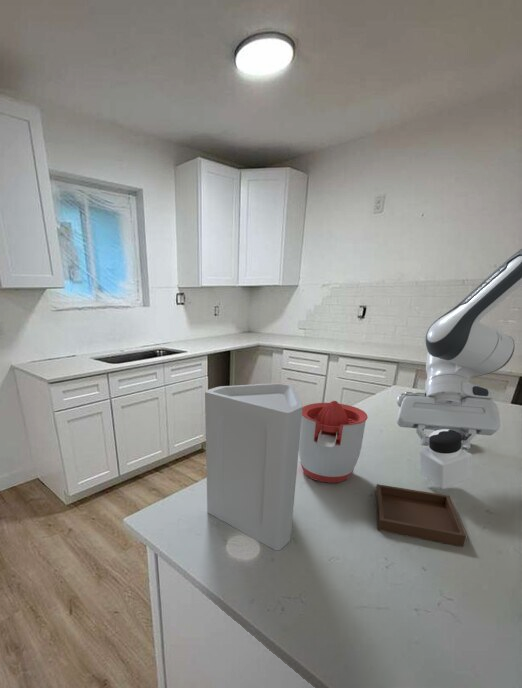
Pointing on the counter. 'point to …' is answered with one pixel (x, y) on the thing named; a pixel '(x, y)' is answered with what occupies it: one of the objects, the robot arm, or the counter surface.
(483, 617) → the counter surface
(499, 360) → the robot arm
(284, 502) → the triangular white caddy
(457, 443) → the medicine bottle
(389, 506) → the tray
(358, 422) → the citrus juicer
